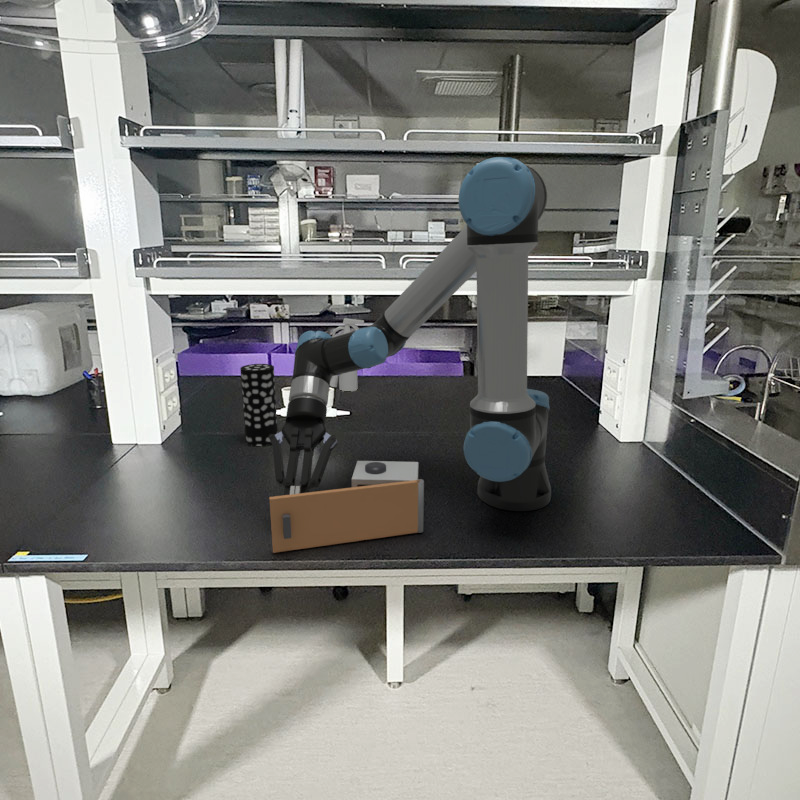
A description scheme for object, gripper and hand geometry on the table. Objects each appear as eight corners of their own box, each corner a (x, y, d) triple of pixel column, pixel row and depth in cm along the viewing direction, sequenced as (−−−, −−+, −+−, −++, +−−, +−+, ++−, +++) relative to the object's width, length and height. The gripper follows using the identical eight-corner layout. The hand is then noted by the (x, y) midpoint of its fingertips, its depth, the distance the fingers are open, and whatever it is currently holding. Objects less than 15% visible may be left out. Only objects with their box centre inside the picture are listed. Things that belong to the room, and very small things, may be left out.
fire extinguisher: (330, 385, 210) (330, 316, 203) (363, 387, 210) (364, 317, 202) (326, 391, 204) (326, 319, 196) (361, 392, 203) (362, 321, 196)
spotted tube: (280, 435, 160) (276, 363, 154) (275, 446, 152) (270, 370, 146) (249, 436, 159) (244, 363, 154) (242, 446, 151) (236, 371, 146)
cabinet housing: (417, 508, 118) (418, 458, 115) (416, 530, 109) (417, 476, 106) (358, 506, 119) (357, 456, 116) (352, 528, 110) (351, 475, 107)
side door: (421, 528, 109) (422, 478, 106) (425, 534, 107) (426, 484, 104) (272, 549, 102) (269, 496, 99) (273, 556, 100) (270, 502, 97)
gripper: (344, 413, 117) (332, 530, 106) (278, 412, 118) (260, 528, 107) (339, 395, 110) (326, 518, 99) (269, 394, 111) (249, 516, 100)
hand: (292, 523), depth 103 cm, fingers closed
